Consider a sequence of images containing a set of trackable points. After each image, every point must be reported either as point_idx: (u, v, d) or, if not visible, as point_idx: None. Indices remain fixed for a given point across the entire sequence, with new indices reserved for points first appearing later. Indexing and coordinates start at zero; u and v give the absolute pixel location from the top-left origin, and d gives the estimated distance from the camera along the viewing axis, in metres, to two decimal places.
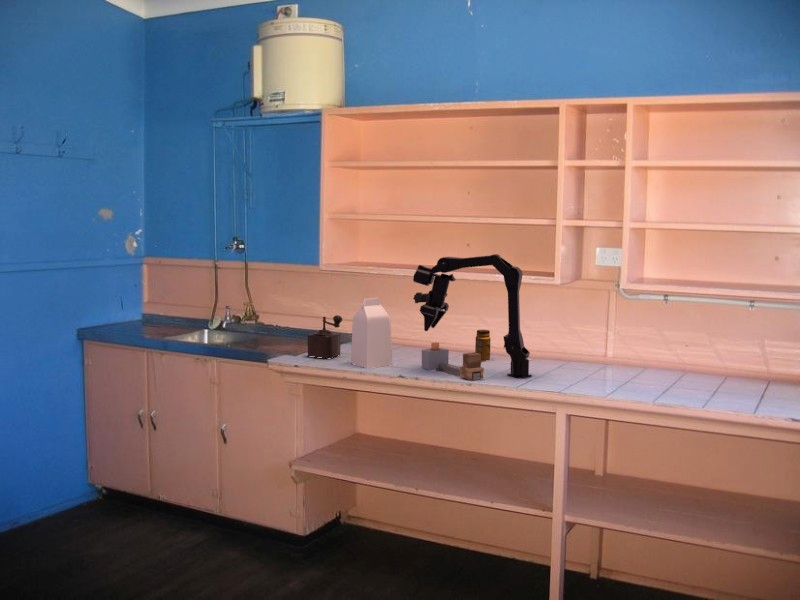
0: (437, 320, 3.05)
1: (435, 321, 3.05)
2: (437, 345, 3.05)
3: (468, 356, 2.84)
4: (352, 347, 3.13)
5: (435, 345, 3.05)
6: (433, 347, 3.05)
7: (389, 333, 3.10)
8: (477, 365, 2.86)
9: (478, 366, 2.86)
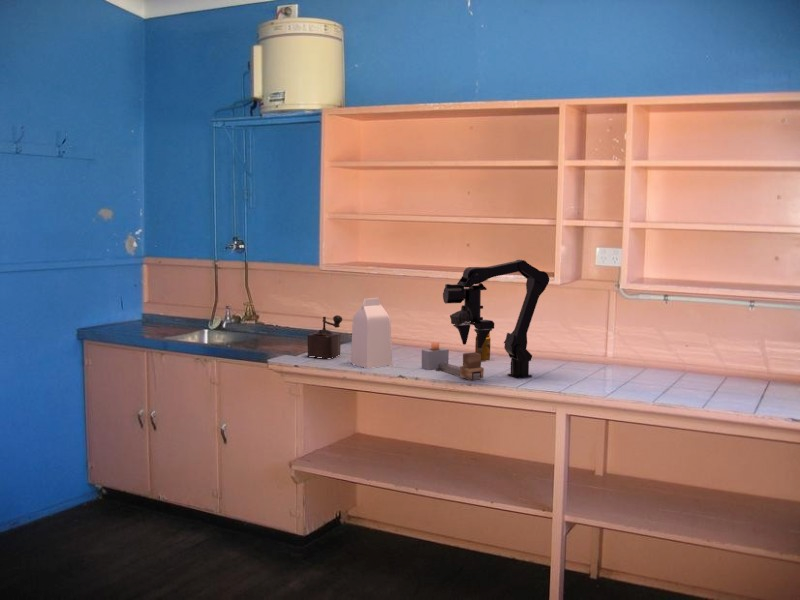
0: (467, 335, 2.90)
1: (465, 337, 2.90)
2: (437, 345, 3.05)
3: (468, 356, 2.84)
4: (352, 347, 3.13)
5: (435, 345, 3.05)
6: (433, 347, 3.05)
7: (389, 333, 3.10)
8: (477, 365, 2.86)
9: (478, 366, 2.86)
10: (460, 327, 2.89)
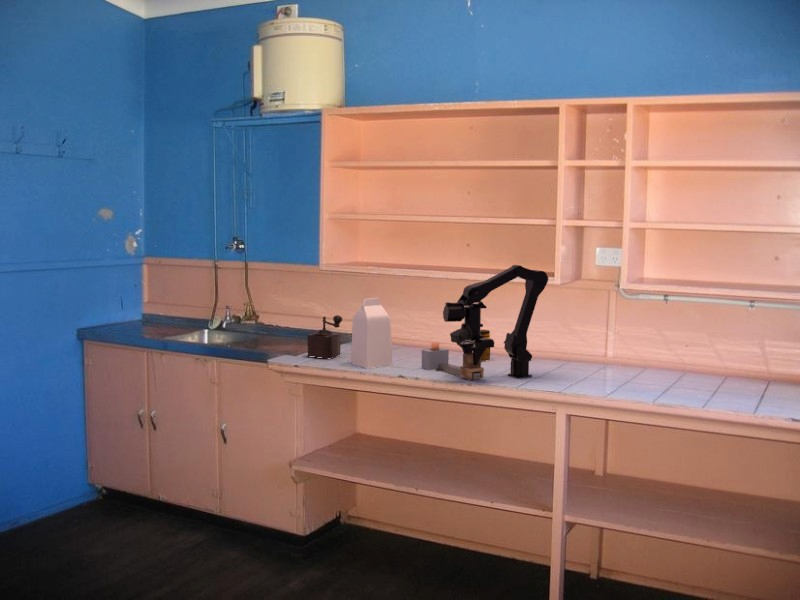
0: None
1: None
2: (437, 345, 3.05)
3: (468, 356, 2.84)
4: (352, 347, 3.13)
5: (435, 345, 3.05)
6: (433, 347, 3.05)
7: (389, 333, 3.10)
8: (477, 365, 2.86)
9: (478, 366, 2.86)
10: (464, 346, 2.88)
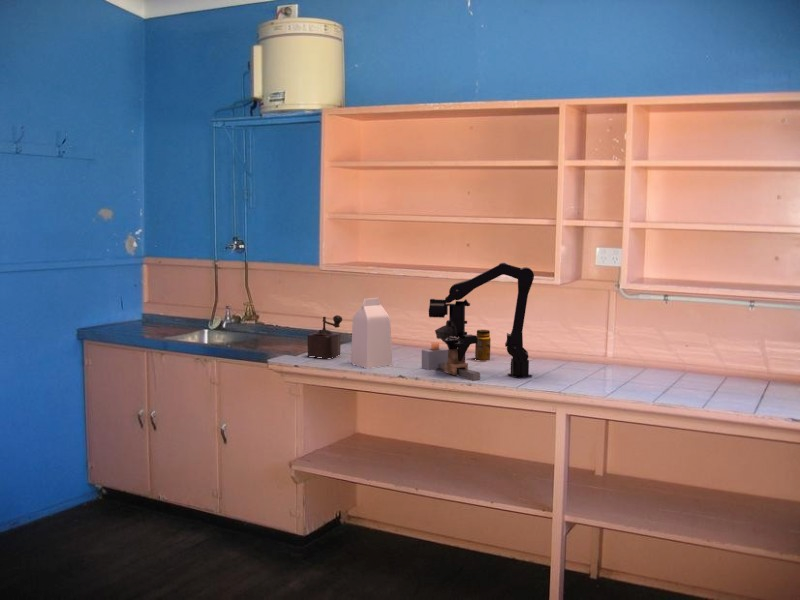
0: None
1: None
2: (437, 345, 3.05)
3: (453, 352, 2.92)
4: (352, 347, 3.13)
5: (435, 345, 3.05)
6: (433, 347, 3.05)
7: (389, 333, 3.10)
8: (462, 361, 2.94)
9: (462, 362, 2.94)
10: (449, 342, 2.96)
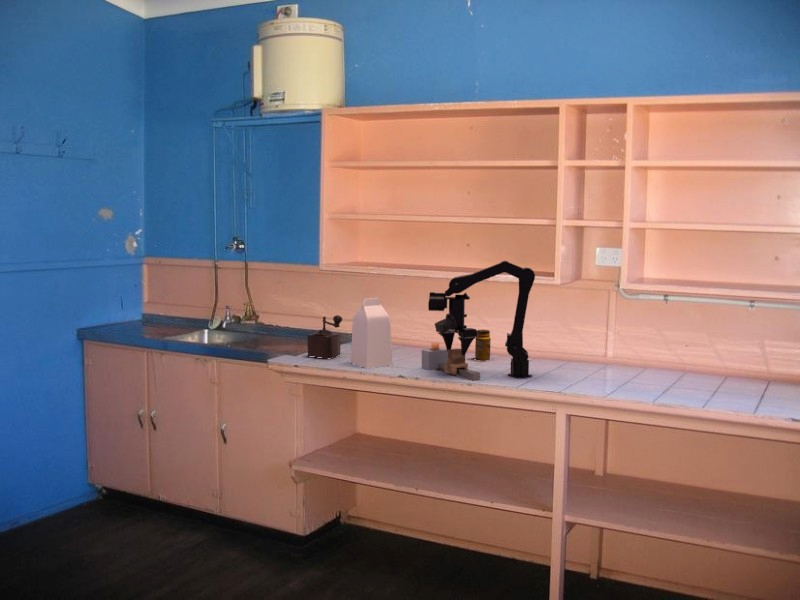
0: (451, 343, 2.99)
1: (450, 344, 2.98)
2: (437, 345, 3.05)
3: (453, 352, 2.92)
4: (352, 347, 3.13)
5: (435, 345, 3.05)
6: (433, 347, 3.05)
7: (389, 333, 3.10)
8: (461, 361, 2.94)
9: (462, 362, 2.94)
10: (445, 335, 2.97)
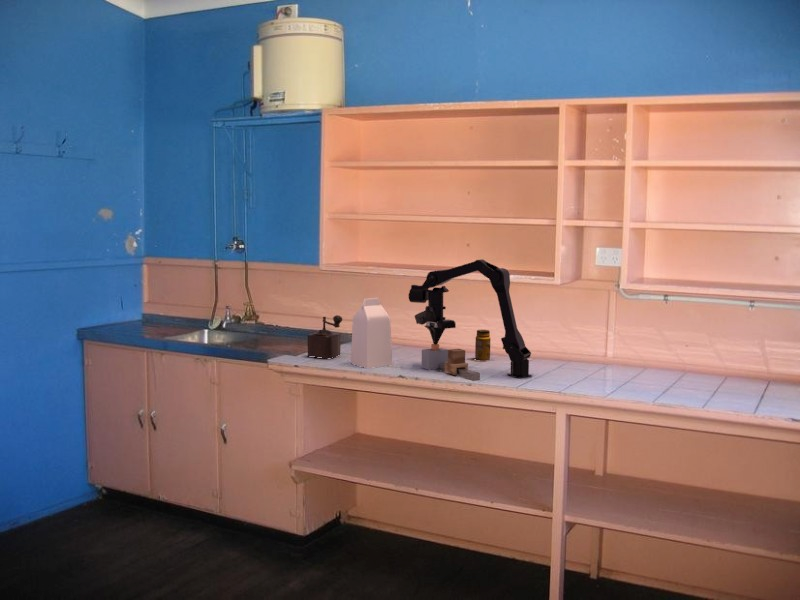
0: None
1: None
2: (437, 346, 3.05)
3: (453, 352, 2.92)
4: (352, 347, 3.13)
5: (435, 346, 3.05)
6: (433, 348, 3.05)
7: (389, 333, 3.10)
8: (461, 361, 2.94)
9: (462, 362, 2.94)
10: (431, 328, 3.05)
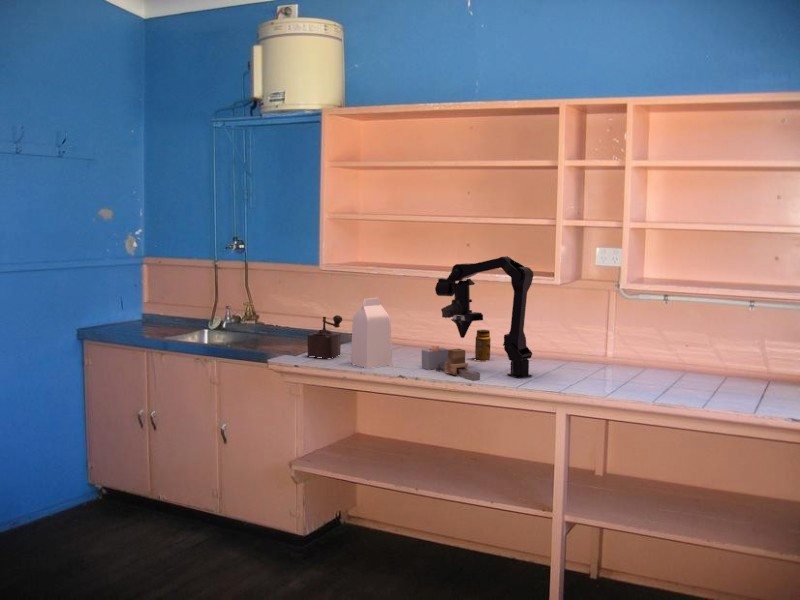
0: None
1: None
2: (437, 348, 3.05)
3: (453, 352, 2.92)
4: (352, 347, 3.13)
5: (435, 348, 3.05)
6: (433, 350, 3.05)
7: (389, 333, 3.10)
8: (461, 361, 2.94)
9: (462, 362, 2.94)
10: (458, 321, 3.04)
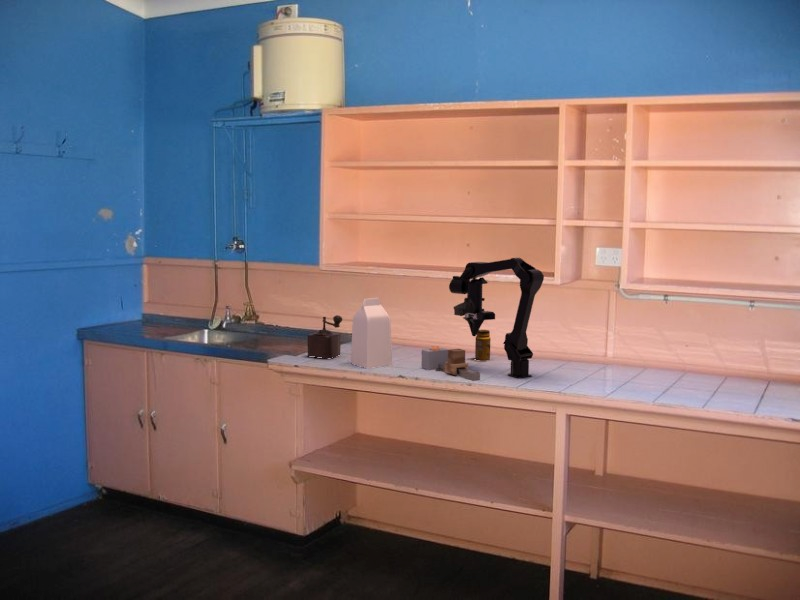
0: None
1: None
2: (437, 348, 3.05)
3: (453, 352, 2.92)
4: (352, 347, 3.13)
5: (435, 348, 3.05)
6: (433, 350, 3.05)
7: (389, 333, 3.10)
8: (461, 361, 2.94)
9: (462, 362, 2.94)
10: (470, 319, 3.04)
